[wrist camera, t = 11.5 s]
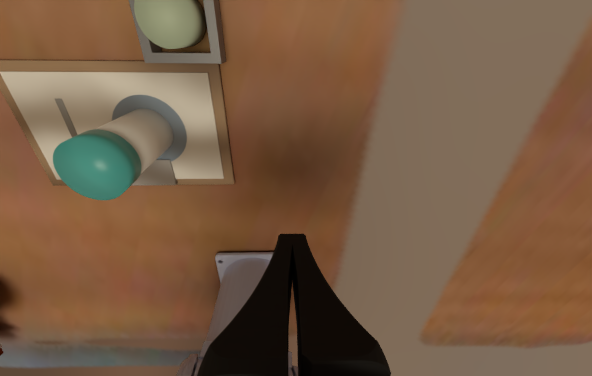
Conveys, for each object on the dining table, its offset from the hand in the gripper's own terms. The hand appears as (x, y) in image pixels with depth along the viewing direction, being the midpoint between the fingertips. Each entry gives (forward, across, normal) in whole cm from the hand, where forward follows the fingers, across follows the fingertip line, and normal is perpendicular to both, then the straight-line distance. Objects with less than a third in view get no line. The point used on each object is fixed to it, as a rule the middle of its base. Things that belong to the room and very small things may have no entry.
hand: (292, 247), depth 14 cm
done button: (+10, +7, -11) cm, 16 cm away
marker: (+10, +11, -3) cm, 15 cm away
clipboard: (+10, +13, -3) cm, 17 cm away
